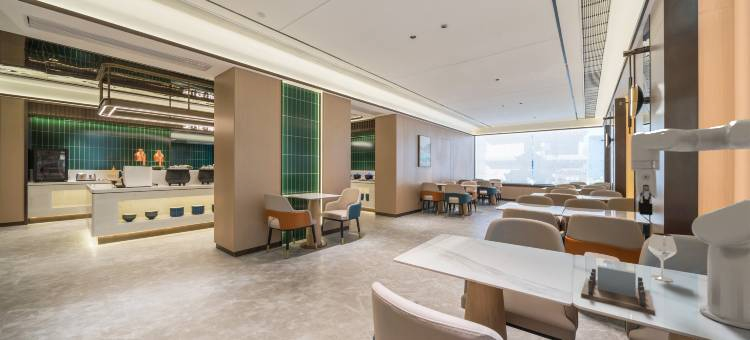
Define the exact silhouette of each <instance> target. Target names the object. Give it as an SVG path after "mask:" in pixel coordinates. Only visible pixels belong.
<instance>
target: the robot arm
mask: <svg viewBox="0 0 750 340" xmlns="http://www.w3.org/2000/svg"><path fill="white" fill-rule="evenodd" d="M721 150H722V151H723V150H724V151H725V150H730V151H732V150H750V118H746V119H745V118H744V119H736V120H733V121H730V122H729V123H727V124H723V125H721V126H714V127H708V128H707V127H706V128H696V129H683V128H681V129H680V128H663V129H659V130H655V131H643V132H636V133H633V134H632V135H631V139H630V170H631V171H635V190H636V196H637V197H638V205H637V206H638V209H637V210H638V212H639V214H640V215H644V216H646V215H647V216H653V213H654V212H653V210H654V209H653V203H652V201H653V200H652V199H656V198H657V197H658V192H657V189H658V187H657V174H656V173H657V172H656V171H661V170H660V168H661V162H660V161H661V159H660V158H661V157H660V156H661V155H660V154H661V153H660V151H664V152H681V153H682V152H683V153H684V152H685V153H687V152H704V151H709V152H710V151H721ZM691 231H692V234H693V235H694V236H695V239H698V240H699V241H700V242H702V243H704V244H707V245H708V247H707V255H706V256H707V260H706V262H707V265H706V271H707V275H706V276H707V277H706V278H707V285H706V286H707V287H706V288H707V290H706V293H707V294H706V295H707V296H706V298H707V299H706V301H707V304H706V305H701V306H700V307H699V312H700V313H701V314H702V315H703V316H705V317H707V318H709V319H712V320H714V321H716V322H719V323H722V324H725V325H728V326H733V327H736V328H740V329H746V330H750V198H747V199H744V200H741V201H738V202H735V203H733V204H730V205H726V206H723V207H720V208H717V209H714V210H712V211H708V212H706V213H703V214H701V215H699V216H697V217H695V219H694V220H693V222H692V224H691Z"/></svg>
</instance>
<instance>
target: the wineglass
mask: <svg viewBox="0 0 750 340" xmlns="http://www.w3.org/2000/svg"><path fill="white" fill-rule="evenodd" d="M647 248H648V250H649V251H650V252H651V254H653V255H654V256H655V257H656V258H658V259H659V261H660V275H658V274H651V275H650V277H651V278H652V279H655V280H657V281H663V282H674V279H673V278H671V277H668V276H664V275H665V273H664V271H665V270H664V262H665V261H666V260H668V259H670V258H672V257H673V256H674V255H676V254H677V252H678V249H677V245H676V242H675V239H674V237H673V235H672V234H669V233H668V234H667V233H662V232H661V233H660V232H652V233H651V235H650V238H649V241H648V245H647Z"/></svg>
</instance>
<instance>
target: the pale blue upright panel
mask: <svg viewBox="0 0 750 340" xmlns="http://www.w3.org/2000/svg"><path fill="white" fill-rule="evenodd" d="M636 275H637V274H636V271H634V270H627V269H623V268H616V267H612V266H611V267H610V266H604V265H597V280H598V289H599V290H604V291H608V292H613V293H617V294H622V295H626V296H631V297H636V288H637V285H636V283H637V282H636Z"/></svg>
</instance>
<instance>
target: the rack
mask: <svg viewBox="0 0 750 340" xmlns="http://www.w3.org/2000/svg"><path fill="white" fill-rule="evenodd" d="M596 272H597V270H596V268H591V271H590V275H589V277H585V281H584V283H583V286H582V289H581V292H580V298H585V299H589V300H593V301H597V302H602V303H605V304H609V305H614V306H617V307H618V306H619V307H622V308H626V309H630V310H635V311H639V312H642V313H647V314H651V315H655V308H654V303H653V300H652V295H651V291H650V290H647V289H645V286H644V281H643V277H642V276H637V287H636V297H631V296H626V295H622V294H617V293H613V292H608V291H604V290H599V289H598V279H597V277H596V276H597V273H596Z"/></svg>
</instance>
